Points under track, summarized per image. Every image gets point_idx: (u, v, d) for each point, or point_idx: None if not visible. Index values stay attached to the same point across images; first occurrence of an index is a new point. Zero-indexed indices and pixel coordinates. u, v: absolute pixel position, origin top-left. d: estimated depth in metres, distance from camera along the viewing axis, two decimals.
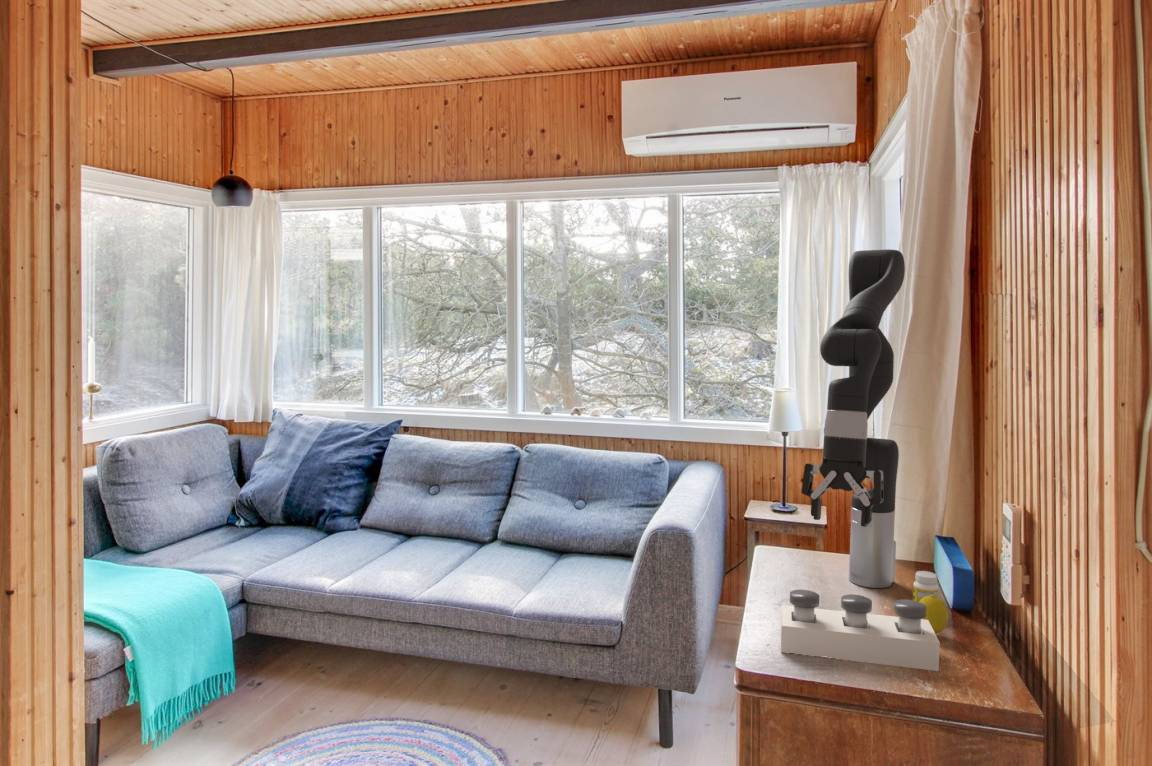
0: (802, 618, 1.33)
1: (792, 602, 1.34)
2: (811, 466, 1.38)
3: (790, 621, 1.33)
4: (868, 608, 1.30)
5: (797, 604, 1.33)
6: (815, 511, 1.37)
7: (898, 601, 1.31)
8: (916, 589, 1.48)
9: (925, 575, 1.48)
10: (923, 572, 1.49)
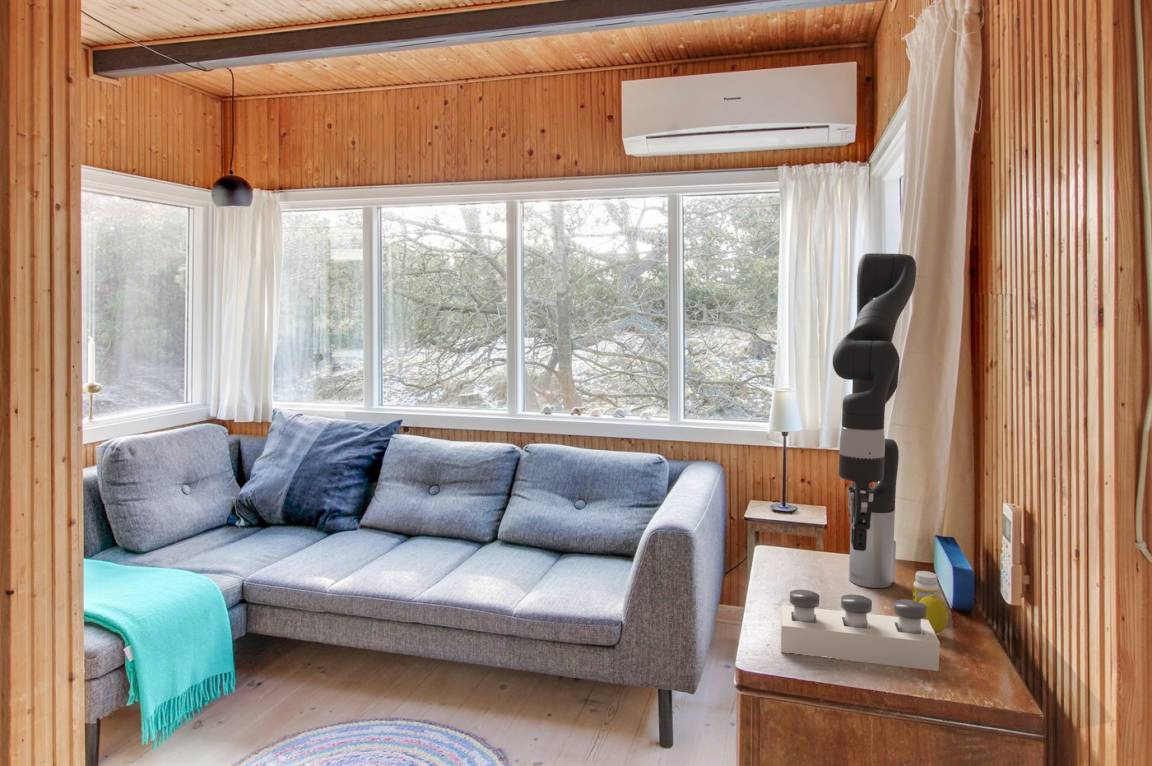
0: (802, 618, 1.33)
1: (792, 602, 1.34)
2: None
3: (790, 621, 1.33)
4: (868, 608, 1.30)
5: (797, 604, 1.33)
6: (851, 536, 1.33)
7: (898, 601, 1.31)
8: (916, 589, 1.48)
9: (925, 575, 1.48)
10: (923, 572, 1.49)
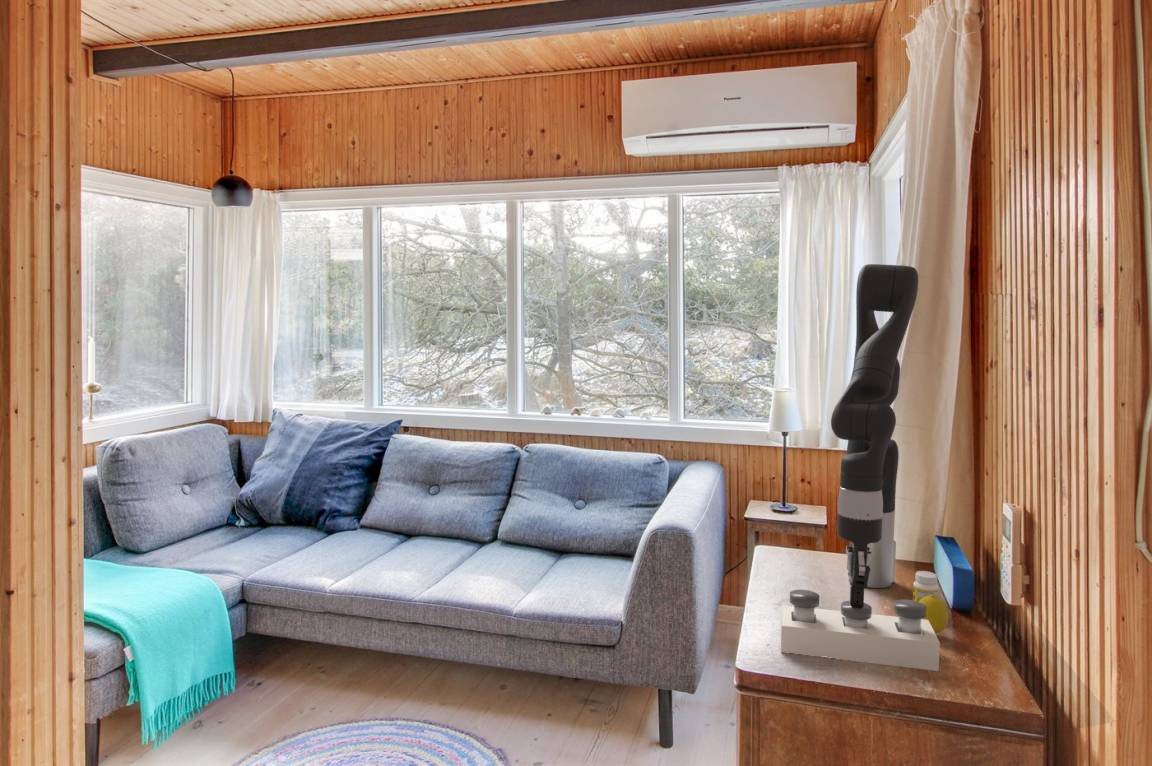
0: (802, 618, 1.33)
1: (792, 602, 1.34)
2: None
3: (790, 621, 1.33)
4: (868, 614, 1.30)
5: (797, 604, 1.33)
6: (850, 596, 1.33)
7: (898, 601, 1.31)
8: (916, 589, 1.48)
9: (925, 575, 1.48)
10: (923, 572, 1.49)
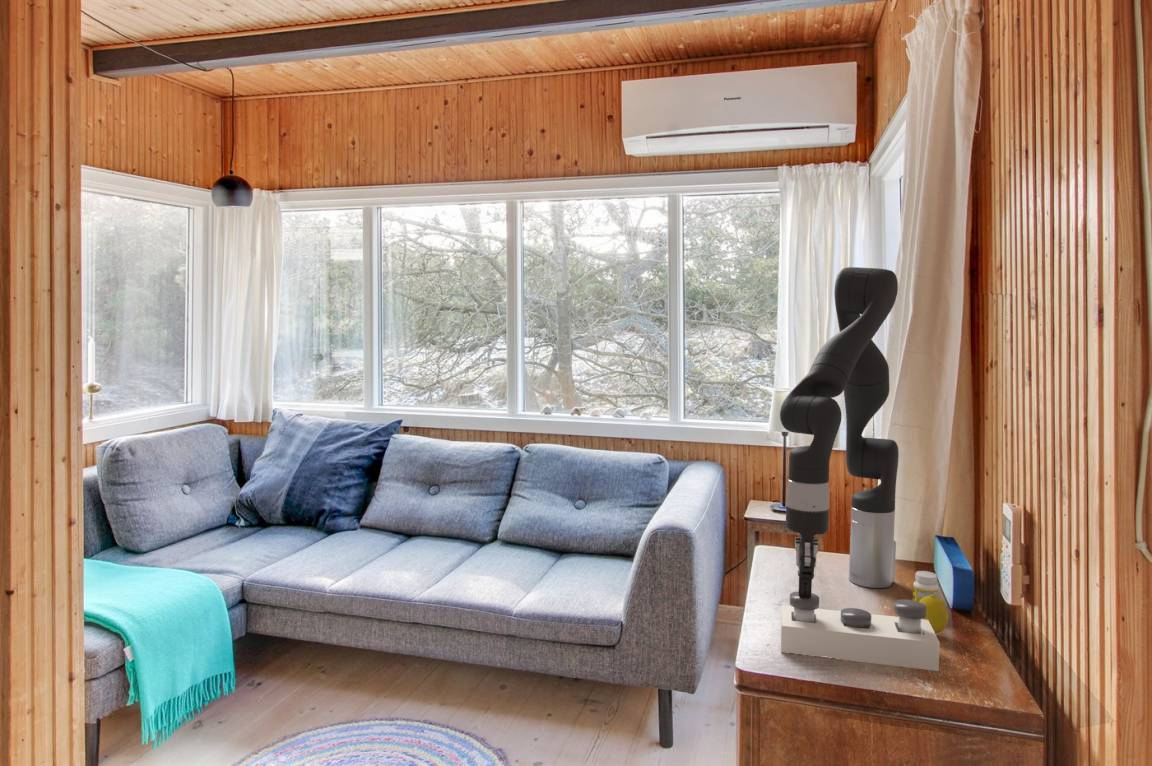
0: (802, 620, 1.33)
1: (792, 604, 1.34)
2: None
3: (790, 621, 1.33)
4: (867, 622, 1.30)
5: (797, 606, 1.33)
6: None
7: (898, 601, 1.31)
8: (916, 589, 1.48)
9: (925, 575, 1.48)
10: (923, 572, 1.49)
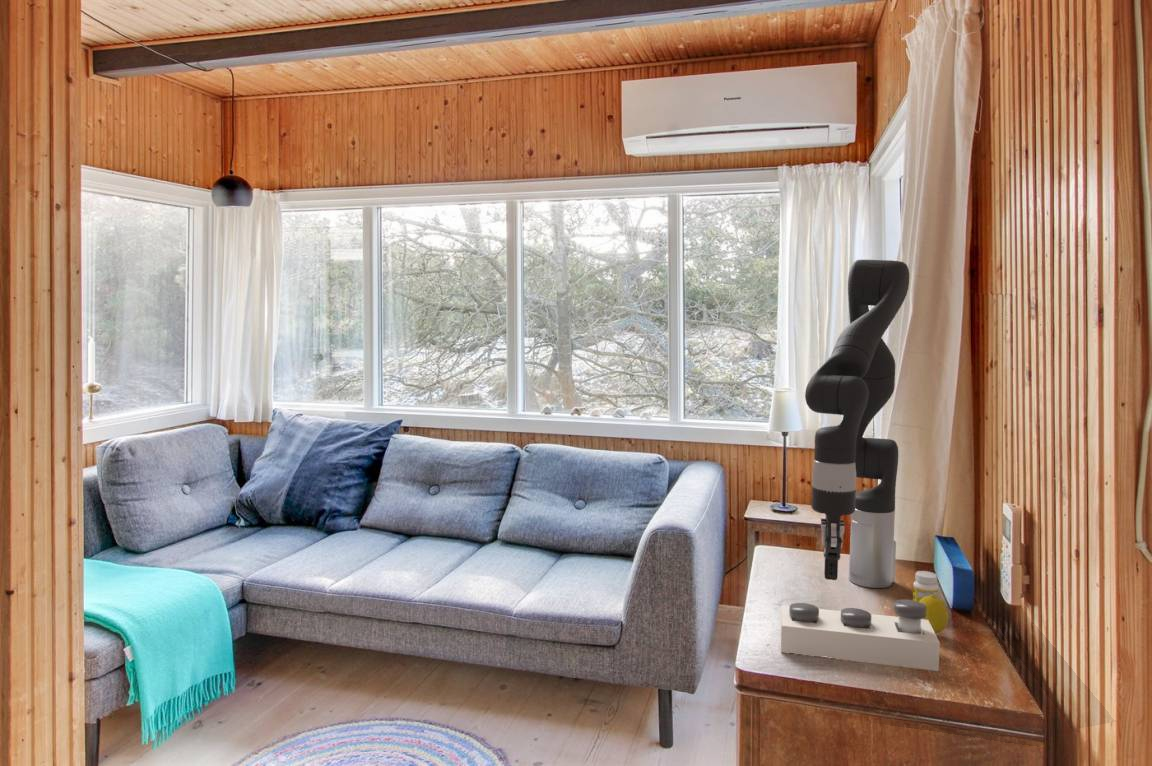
0: None
1: (792, 616, 1.34)
2: None
3: (790, 621, 1.33)
4: (867, 622, 1.30)
5: (797, 618, 1.33)
6: None
7: (898, 601, 1.31)
8: (916, 589, 1.48)
9: (925, 575, 1.48)
10: (923, 572, 1.49)
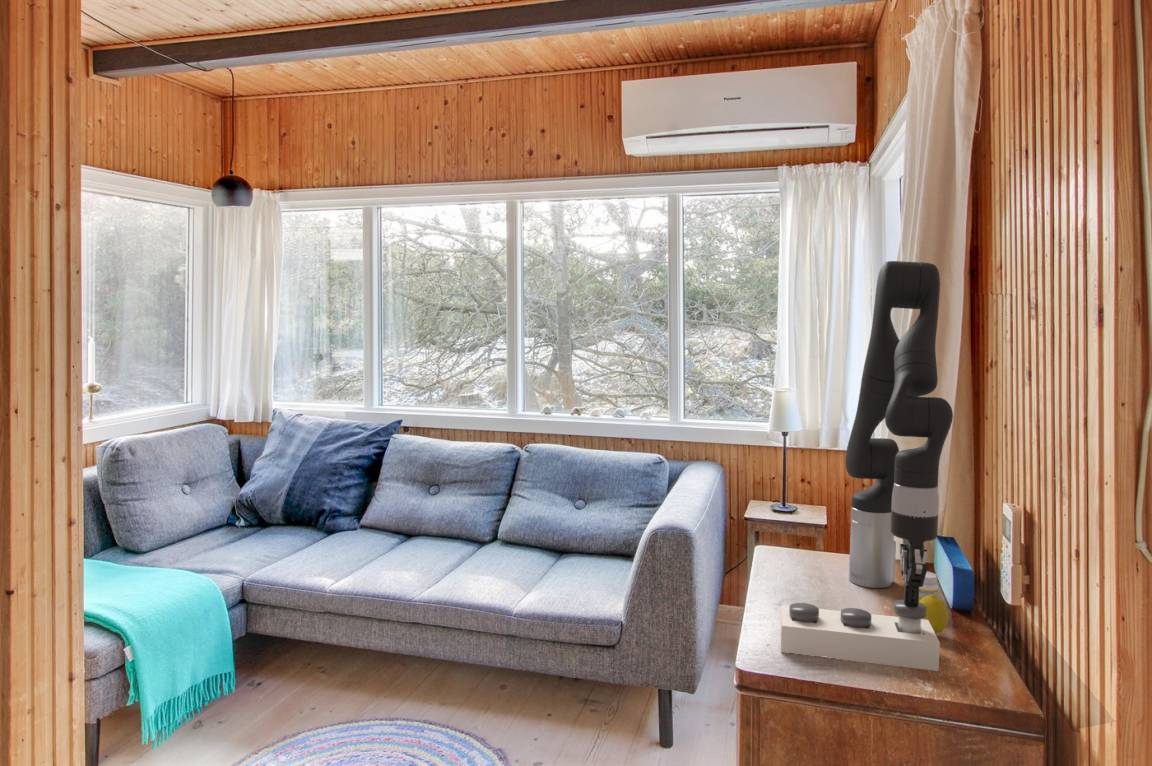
0: None
1: (792, 616, 1.34)
2: None
3: (790, 621, 1.33)
4: (867, 622, 1.30)
5: (797, 618, 1.33)
6: None
7: (898, 601, 1.31)
8: None
9: None
10: None
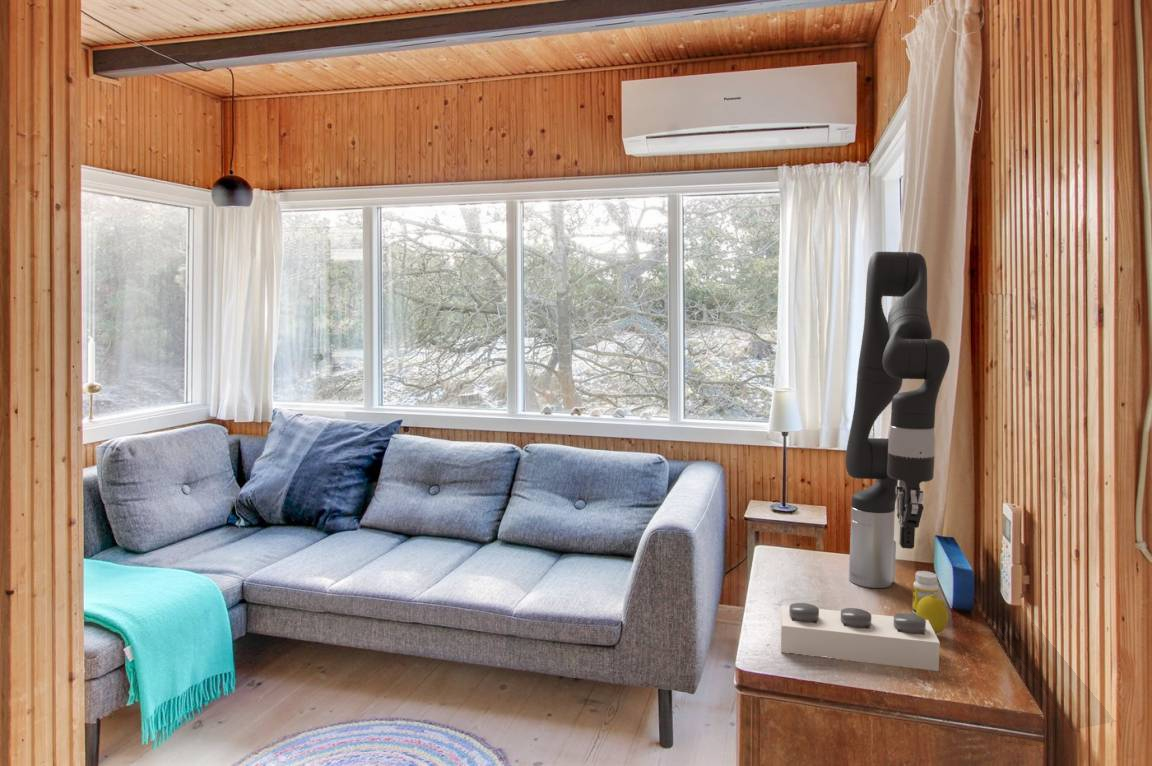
0: None
1: (792, 616, 1.34)
2: None
3: (790, 621, 1.33)
4: (867, 622, 1.30)
5: (797, 618, 1.33)
6: None
7: (898, 615, 1.32)
8: (916, 589, 1.48)
9: (925, 575, 1.48)
10: (923, 572, 1.49)
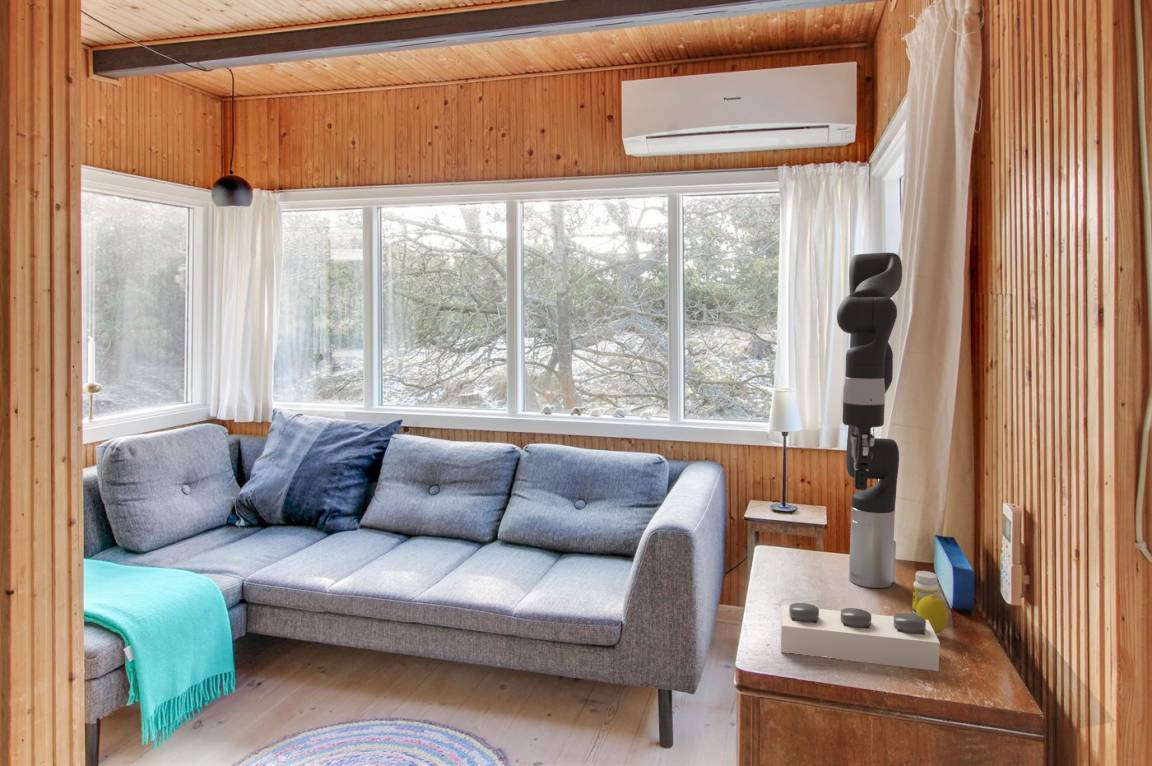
0: None
1: (792, 616, 1.34)
2: None
3: (790, 621, 1.33)
4: (867, 622, 1.30)
5: (797, 618, 1.33)
6: (854, 480, 1.43)
7: (898, 615, 1.32)
8: (916, 589, 1.48)
9: (925, 575, 1.48)
10: (923, 572, 1.49)
